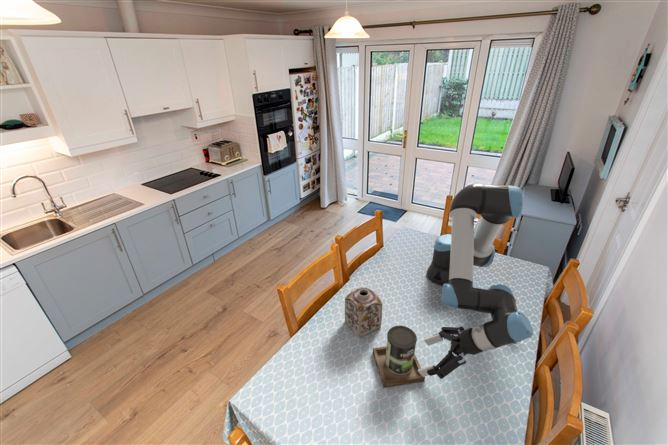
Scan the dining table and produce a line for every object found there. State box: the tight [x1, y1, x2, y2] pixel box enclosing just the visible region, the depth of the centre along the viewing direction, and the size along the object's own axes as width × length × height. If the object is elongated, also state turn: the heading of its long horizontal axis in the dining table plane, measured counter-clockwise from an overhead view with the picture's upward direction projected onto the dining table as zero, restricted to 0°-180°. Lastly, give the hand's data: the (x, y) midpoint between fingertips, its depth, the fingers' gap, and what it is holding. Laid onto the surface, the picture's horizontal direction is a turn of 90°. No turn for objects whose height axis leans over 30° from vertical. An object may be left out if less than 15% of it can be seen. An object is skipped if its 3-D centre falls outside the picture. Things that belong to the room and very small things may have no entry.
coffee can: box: [385, 325, 418, 375], centre depth 113 cm, size 10×10×14 cm
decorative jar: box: [344, 286, 383, 338], centre depth 130 cm, size 12×12×18 cm
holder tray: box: [372, 345, 426, 389], centre depth 115 cm, size 15×15×2 cm
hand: (423, 357), depth 109 cm, fingers open, 13 cm apart
